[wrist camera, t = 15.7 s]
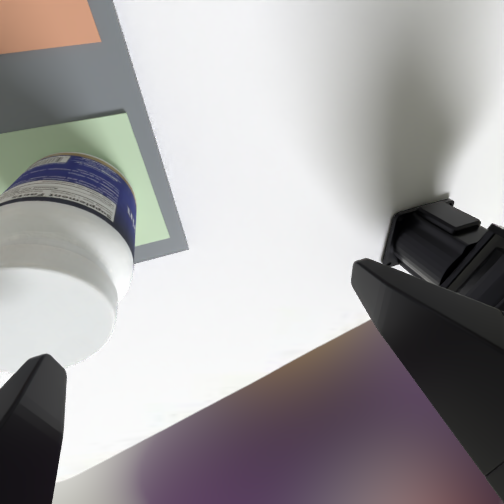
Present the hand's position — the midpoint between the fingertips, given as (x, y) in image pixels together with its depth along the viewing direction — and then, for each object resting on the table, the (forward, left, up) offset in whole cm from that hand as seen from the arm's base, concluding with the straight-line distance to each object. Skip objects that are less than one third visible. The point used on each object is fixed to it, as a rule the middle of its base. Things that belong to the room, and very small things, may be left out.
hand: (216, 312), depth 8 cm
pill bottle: (0, +6, -12) cm, 13 cm away
